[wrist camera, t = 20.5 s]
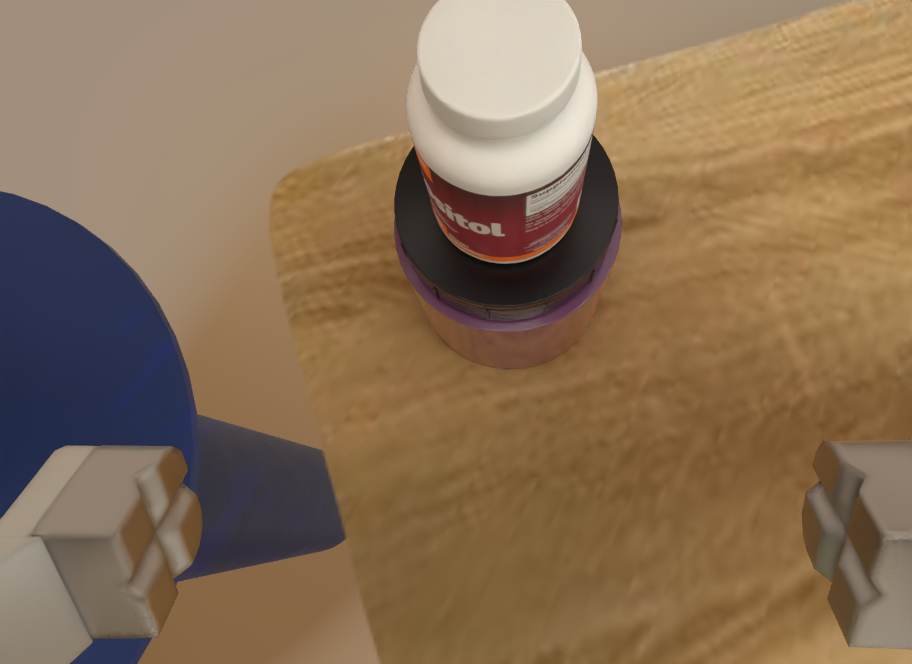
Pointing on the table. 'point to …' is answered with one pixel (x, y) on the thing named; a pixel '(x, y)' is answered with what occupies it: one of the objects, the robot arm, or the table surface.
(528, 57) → the pill bottle
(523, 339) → the jar
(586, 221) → the jar lid
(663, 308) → the table surface
